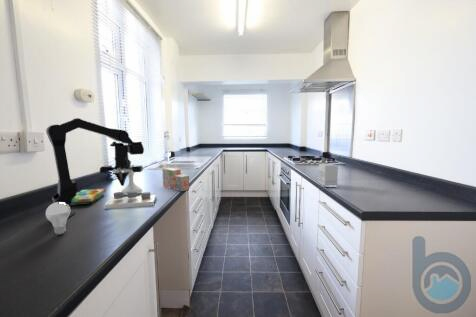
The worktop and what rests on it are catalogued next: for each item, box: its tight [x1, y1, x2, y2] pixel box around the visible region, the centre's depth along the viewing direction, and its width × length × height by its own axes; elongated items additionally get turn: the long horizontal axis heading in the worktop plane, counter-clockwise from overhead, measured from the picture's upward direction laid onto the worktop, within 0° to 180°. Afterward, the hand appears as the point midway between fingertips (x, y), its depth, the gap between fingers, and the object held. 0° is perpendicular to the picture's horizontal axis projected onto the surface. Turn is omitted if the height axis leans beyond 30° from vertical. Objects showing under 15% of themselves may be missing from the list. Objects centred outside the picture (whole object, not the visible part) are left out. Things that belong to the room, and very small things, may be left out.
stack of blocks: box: [161, 167, 190, 192], centre depth 146 cm, size 21×6×12 cm, turn 49°
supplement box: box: [318, 163, 339, 186], centre depth 149 cm, size 9×9×15 cm
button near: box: [113, 191, 125, 199], centre depth 114 cm, size 4×4×2 cm
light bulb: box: [45, 202, 72, 236], centre depth 80 cm, size 7×7×12 cm
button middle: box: [127, 191, 138, 198], centre depth 116 cm, size 4×4×2 cm
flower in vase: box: [120, 164, 143, 196], centre depth 130 cm, size 13×11×25 cm
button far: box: [140, 191, 151, 199], centre depth 117 cm, size 4×4×2 cm
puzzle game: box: [71, 188, 107, 206], centre depth 120 cm, size 12×5×20 cm
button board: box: [104, 194, 157, 210], centre depth 115 cm, size 12×22×2 cm, turn 103°
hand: (122, 185), depth 114 cm, fingers closed
